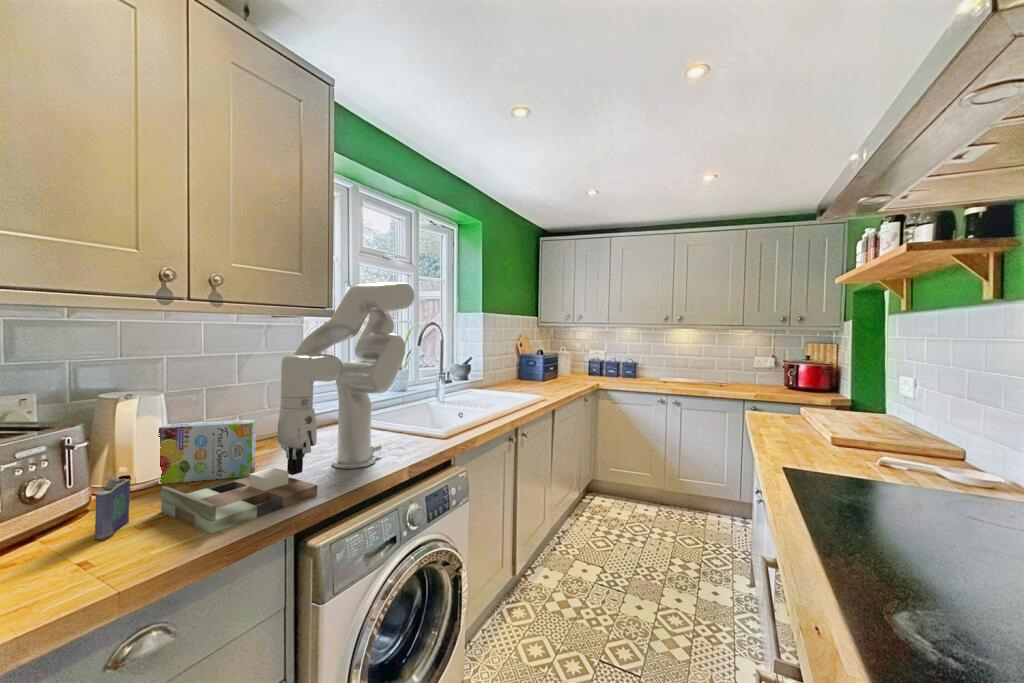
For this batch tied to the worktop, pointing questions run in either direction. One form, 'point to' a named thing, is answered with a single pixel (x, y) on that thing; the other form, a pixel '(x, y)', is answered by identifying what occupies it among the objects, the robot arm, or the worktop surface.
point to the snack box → (207, 450)
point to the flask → (112, 508)
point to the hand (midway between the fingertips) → (294, 473)
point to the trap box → (231, 503)
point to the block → (268, 479)
